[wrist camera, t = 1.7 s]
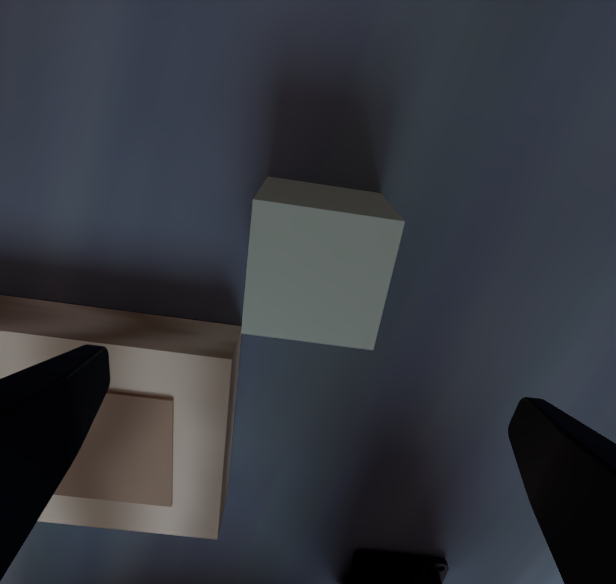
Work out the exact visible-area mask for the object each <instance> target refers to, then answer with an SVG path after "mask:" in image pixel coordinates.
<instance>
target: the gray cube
mask: <svg viewBox="0 0 616 584" xmlns="http://www.w3.org/2000/svg"><path fill="white" fill-rule="evenodd" d="M404 224H405V221H404V220H403V218H402V217H401V216H400V215H399V214H398V212H397V211H396V210H395V209H394V208H393V206H392V205H391V204H390V203H389V202H388V201H387V199H386V198H385V197H384V196H383V195H382V193H376V192H370V191H363V190H356V189H349V188H343V187H336V186H329V185H323V184H316V183H309V182H303V181H296V180H289V179H283V178H276V177H269V176H268V177H267V178H266V180H265V181H264V183H263V184H262V186H261V187H260V189H259V191H258V192H257V194H256V195H255V197H254V198H253V204H252V215H251V226H250V238H249V249H248V260H247V271H246V283H245V294H244V305H243V317H242V328H241V333H242V334H250V335H258V336H266V337H274V338H281V339H289V340H297V341H305V342H312V343H320V344H328V345H336V346H344V347H351V348H359V349H367V350H373V349H374V345H375V341H376V337H377V333H378V329H379V325H380V321H381V317H382V313H383V309H384V305H385V301H386V297H387V293H388V289H389V285H390V280H391V276H392V272H393V268H394V264H395V260H396V256H397V252H398V248H399V244H400V240H401V236H402V232H403V228H404Z"/></svg>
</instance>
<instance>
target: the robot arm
mask: <svg viewBox="0 0 616 584" xmlns="http://www.w3.org/2000/svg"><path fill="white" fill-rule="evenodd" d="M109 386H110V365H109V353H108V350H107V348H106V347H104V346H98V345H90V344H86V345H83V346H80V347H78V348H75V349H73V350H70V351H68V352H65V353H63V354H60V355H58V356H55V357H53V358H50V359H48V360H45V361H43V362H40V363H38V364H36V365H33V366H31V367H28V368H26V369H23V370H21V371H18V372H16V373H13V374H11V375H8V376H6V377H3V378H1V379H0V581H1V579H2V578H3V576H4V574H5V573H6V571H7V569H8V568H9V566H10V565H11V563H12V561H13V560H14V558H15V556H16V555H17V553H18V551H19V550H20V548H21V547H22V545H23V543H24V542H25V540H26V538H27V537H28V535H29V534H30V532H31V530H32V529H33V527H34V525H35V524H36V522H37V520H38V519H39V517H40V516H41V514H42V512H43V511H44V509H45V507H46V506H47V504H48V503H49V501H50V499H51V498H52V496H53V494H54V493H55V491H56V489H57V488H58V486H59V485H60V483H61V481H62V480H63V478H64V476H65V475H66V473H67V471H68V470H69V468H70V467H71V465H72V463H73V461H74V460H75V458H76V456H77V455H78V453H79V451H80V449H81V447H82V445H83V443H84V441H85V438H86V436H87V434H88V432H89V430H90V428H91V426H92V424H93V421H94V419H95V417H96V415H97V413H98V411H99V409H100V407H101V404H102V402H103V400H104V398H105V396H106V394H107V392H108V389H109ZM508 435H509V439H510V442H511V446H512V449H513V452H514V455H515V458H516V461H517V464H518V468H519V471H520V474H521V477H522V480H523V483H524V486H525V490H526V493H527V495H528V498H529V501H530V504H531V506H532V509H533V511H534V514H535V516H536V518H537V521H538V523H539V525H540V528H541V530H542V532H543V535H544V537H545V539H546V542H547V544H548V546H549V549H550V551H551V553H552V556H553V558H554V560H555V563H556V565H557V567H558V570H559V572H560V574H561V577H562V579H563V581H564V584H616V444H615V443H614V442H612V441H610V440H609V439H607V438H606V437H604V436H602V435H601V434H599V433H597V432H596V431H594V430H592V429H591V428H589V427H588V426H586V425H584V424H583V423H581V422H579V421H578V420H576V419H575V418H573V417H571V416H570V415H568V414H566V413H565V412H563V411H562V410H560V409H558V408H557V407H555V406H553V405H552V404H550V403H548V402H547V401H545V400H543V399H539V398H530V397H524V398H522V399H521V400H520V401H519V403H518V405H517V408H516V410H515V412H514V415H513V417H512V419H511V421H510V424H509V427H508ZM448 568H449V567H448V564H447V561H446V560H445V559H443V558H436V557H426V556H416V555H407V554H397V553H387V552H377V551H367V550H357V551H355V552H354V553H353V555H352V558H351V562H350V565H349V569H348V572H347V574H345V575H344V576H343V577H342V580H341V584H442V582H443V580H444V578H445V576H446V574H447V571H448Z"/></svg>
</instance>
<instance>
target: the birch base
mask: <svg viewBox="0 0 616 584" xmlns="http://www.w3.org/2000/svg"><path fill="white" fill-rule="evenodd" d="M241 328H242V326H236V325H229V324H221V323H213V322H206V321H198V320H190V319H182V318H175V317H167V316H159V315H151V314H144V313H136V312H128V311H121V310H113V309H105V308H97V307H90V306H82V305H74V304H67V303H59V302H51V301H43V300H36V299H28V298H20V297H12V296H5V295H0V379H1V378H3V377H6V376H8V375H11V374H13V373H16V372H18V371H21V370H23V369H26V368H28V367H31V366H33V365H36V364H38V363H40V362H43V361H45V360H48V359H50V358H53V357H55V356H58V355H60V354H63V353H65V352H68V351H70V350H73V349H75V348H78V347H80V346H83V345H86V344H90V345H98V346H104V347H106V348H107V350H108V353H109V365H110V386H109V389H108V392H107V394H106V396H105V398H104V400H103V402H102V404H101V407H100V409H99V411H98V413H97V415H96V417H95V419H94V421H93V424H92V426H91V428H90V430H89V432H88V434H87V436H86V438H85V441H84V443H83V445H82V447H81V449H80V451H79V453H78V455H77V456H76V458H75V460H74V461H73V463H72V465H71V467H70V468H69V470H68V471H67V473H66V475H65V476H64V478H63V480H62V481H61V483H60V485H59V486H58V488H57V489H56V491H55V493H54V494H53V496H52V498H51V499H50V501H49V503H48V504H47V506H46V507H45V509H44V511H43V512H42V514H41V516H40V517H39V519H38V520H37V521H40V522H50V523H60V524H69V525H79V526H89V527H99V528H109V529H119V530H129V531H138V532H148V533H158V534H168V535H178V536H188V537H197V538H207V539H218V534H219V530H220V525H221V521H222V516H223V511H224V507H225V502H226V498H227V493H228V482H229V471H230V460H231V448H232V437H233V426H234V415H235V404H236V393H237V382H238V370H239V359H240V348H241V337H242V333H241Z"/></svg>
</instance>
